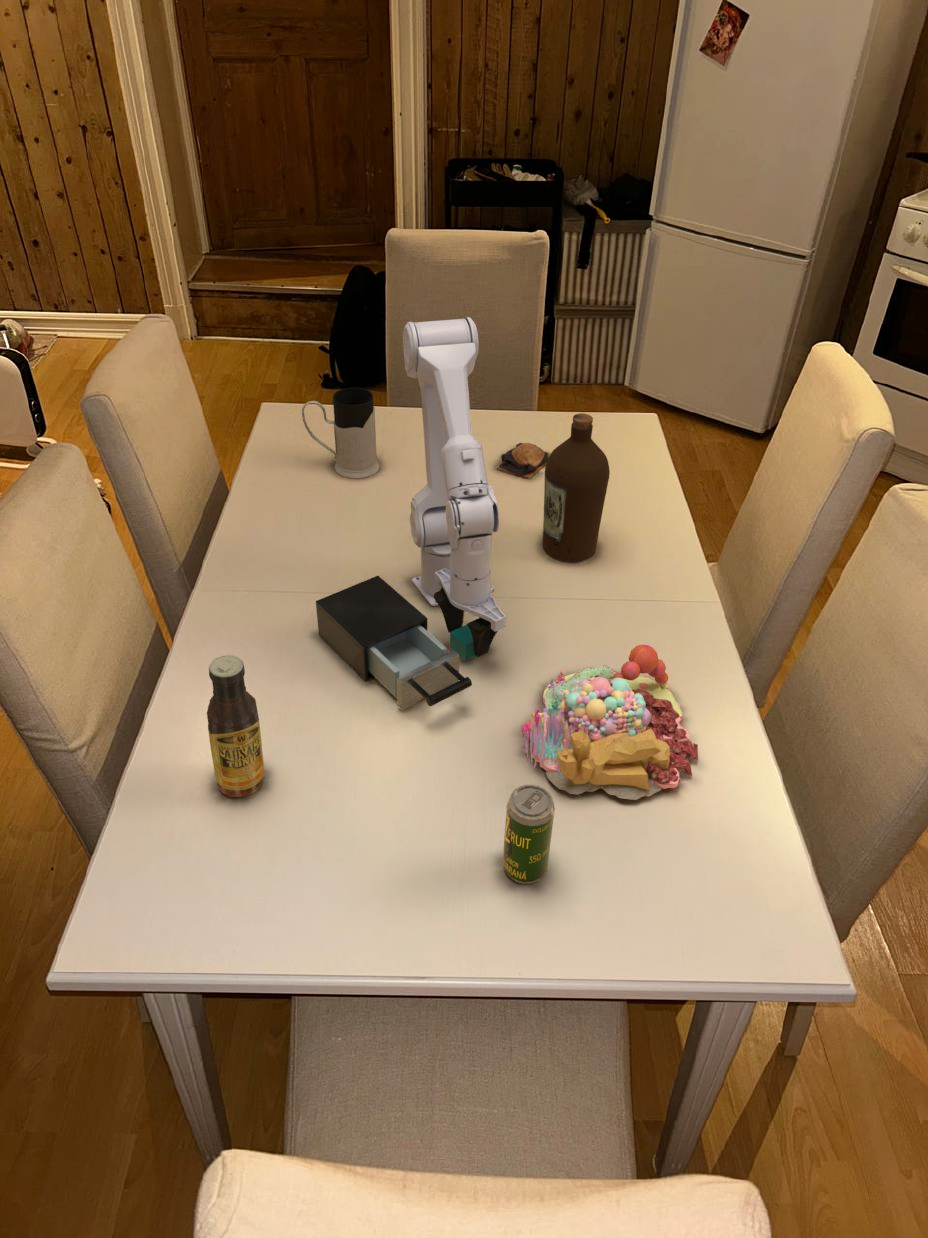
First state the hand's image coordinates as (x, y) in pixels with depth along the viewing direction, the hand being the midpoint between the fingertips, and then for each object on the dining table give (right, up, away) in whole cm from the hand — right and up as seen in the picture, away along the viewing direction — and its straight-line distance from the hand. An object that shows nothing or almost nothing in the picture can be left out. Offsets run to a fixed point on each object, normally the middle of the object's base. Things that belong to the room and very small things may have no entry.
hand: (468, 642), depth 145 cm
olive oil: (+18, +16, +23) cm, 33 cm away
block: (0, -1, +1) cm, 1 cm away
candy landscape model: (+19, -13, -13) cm, 26 cm away
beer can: (+7, -26, -30) cm, 41 cm away
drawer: (-8, -6, -6) cm, 11 cm away
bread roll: (+11, +34, +46) cm, 58 cm away
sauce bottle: (-29, -18, -21) cm, 40 cm away
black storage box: (-15, 0, +1) cm, 15 cm away
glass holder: (-24, +33, +43) cm, 60 cm away
